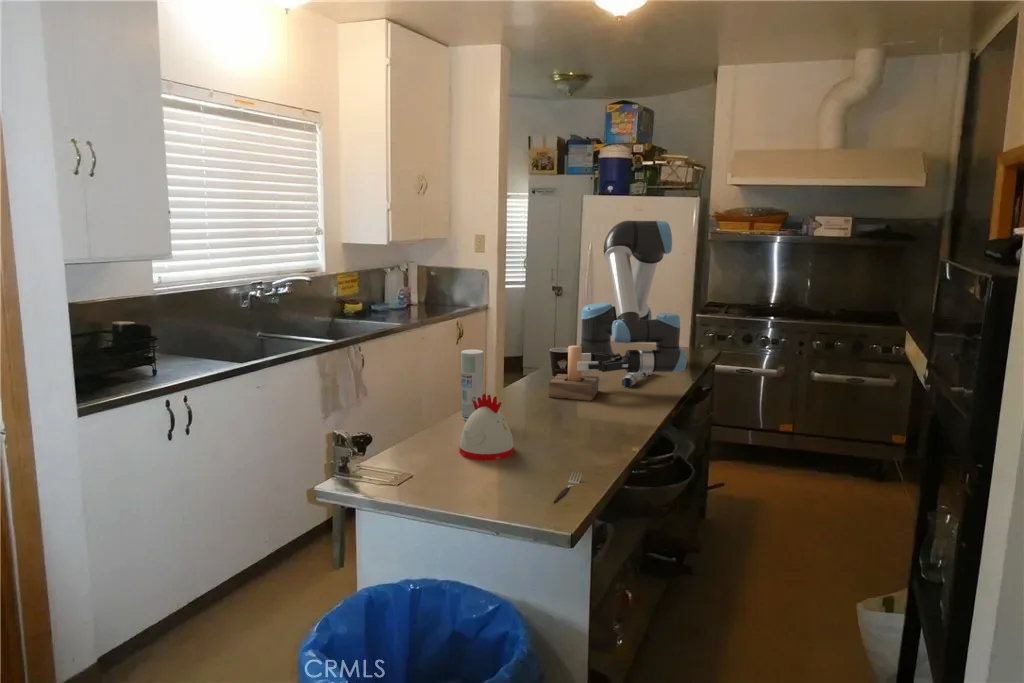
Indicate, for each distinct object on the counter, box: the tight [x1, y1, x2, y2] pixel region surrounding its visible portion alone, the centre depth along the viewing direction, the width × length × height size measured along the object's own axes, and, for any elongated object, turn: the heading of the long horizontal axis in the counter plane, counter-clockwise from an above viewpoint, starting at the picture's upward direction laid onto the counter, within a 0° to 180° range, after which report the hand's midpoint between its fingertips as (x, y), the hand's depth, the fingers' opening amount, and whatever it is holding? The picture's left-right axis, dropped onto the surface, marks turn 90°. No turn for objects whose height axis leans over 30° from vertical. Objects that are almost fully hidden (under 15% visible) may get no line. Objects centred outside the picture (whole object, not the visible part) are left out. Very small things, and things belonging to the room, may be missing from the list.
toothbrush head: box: [621, 371, 653, 388], centre depth 268 cm, size 5×7×25 cm
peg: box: [567, 345, 582, 382], centre depth 247 cm, size 4×4×16 cm
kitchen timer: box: [458, 393, 515, 461], centre depth 190 cm, size 14×14×15 cm
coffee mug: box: [549, 347, 568, 377], centre depth 272 cm, size 12×9×10 cm
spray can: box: [460, 349, 485, 422], centre depth 218 cm, size 6×6×20 cm
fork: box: [553, 471, 583, 503], centre depth 165 cm, size 3×16×2 cm, turn 157°
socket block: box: [548, 374, 599, 401], centre depth 248 cm, size 13×14×5 cm
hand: (574, 361), depth 246 cm, fingers open, 13 cm apart
